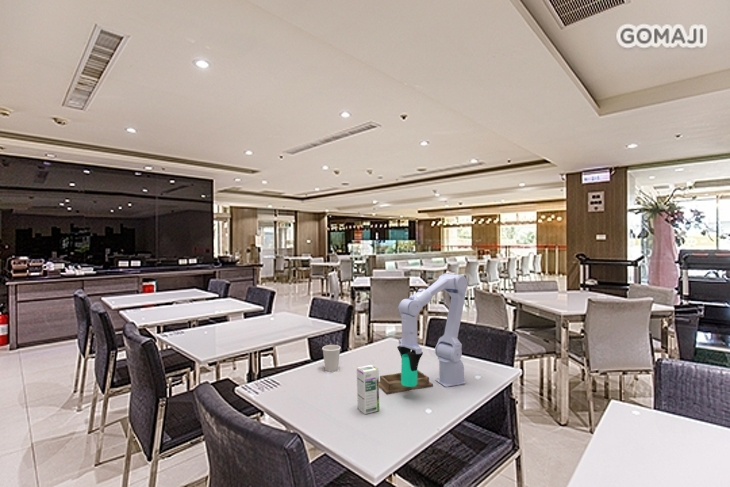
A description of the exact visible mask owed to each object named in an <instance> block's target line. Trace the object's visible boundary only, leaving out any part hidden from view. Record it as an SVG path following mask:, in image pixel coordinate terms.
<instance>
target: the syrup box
mask: <svg viewBox="0 0 730 487" xmlns="http://www.w3.org/2000/svg"><path fill="white" fill-rule="evenodd" d="M379 372H380V371H379V368H377V367H376V366H375V365H372V364H369V365H363V366H358V367H356V396H357V409H358V410H359V411H360V412H361V413H363V415H368V414H371V413H375V412H379V411H380V388H379V382H380V376H379V374H380V373H379Z"/></svg>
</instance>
